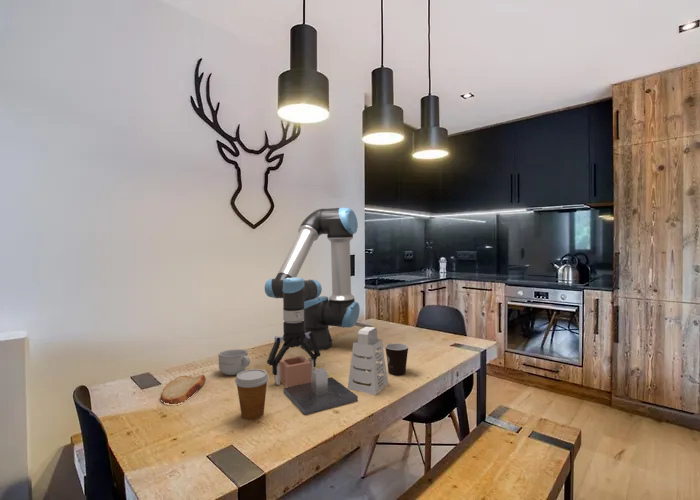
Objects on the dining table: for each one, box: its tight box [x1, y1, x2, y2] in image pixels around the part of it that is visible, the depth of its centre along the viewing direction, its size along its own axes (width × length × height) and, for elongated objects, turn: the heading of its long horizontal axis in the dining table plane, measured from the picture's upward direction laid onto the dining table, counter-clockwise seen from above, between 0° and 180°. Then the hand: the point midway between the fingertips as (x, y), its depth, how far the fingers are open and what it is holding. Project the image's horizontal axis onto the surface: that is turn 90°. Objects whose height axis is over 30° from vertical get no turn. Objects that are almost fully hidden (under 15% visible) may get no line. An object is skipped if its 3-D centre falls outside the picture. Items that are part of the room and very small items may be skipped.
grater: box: [347, 326, 389, 396], centre depth 127 cm, size 10×10×20 cm
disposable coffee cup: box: [234, 368, 270, 421], centre depth 107 cm, size 10×10×12 cm
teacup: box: [217, 348, 251, 376], centre depth 140 cm, size 14×11×8 cm
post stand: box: [283, 367, 359, 416], centre depth 119 cm, size 18×18×8 cm
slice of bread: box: [160, 374, 207, 404], centre depth 125 cm, size 18×18×4 cm
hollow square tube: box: [278, 355, 311, 387], centre depth 133 cm, size 9×9×7 cm
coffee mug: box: [384, 342, 409, 377], centre depth 140 cm, size 12×9×10 cm
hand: (294, 379), depth 133 cm, fingers open, 12 cm apart
